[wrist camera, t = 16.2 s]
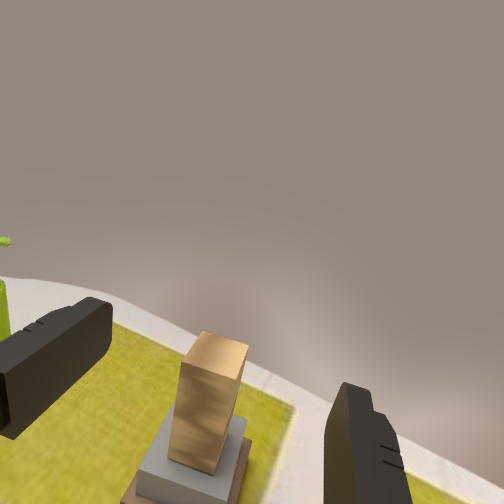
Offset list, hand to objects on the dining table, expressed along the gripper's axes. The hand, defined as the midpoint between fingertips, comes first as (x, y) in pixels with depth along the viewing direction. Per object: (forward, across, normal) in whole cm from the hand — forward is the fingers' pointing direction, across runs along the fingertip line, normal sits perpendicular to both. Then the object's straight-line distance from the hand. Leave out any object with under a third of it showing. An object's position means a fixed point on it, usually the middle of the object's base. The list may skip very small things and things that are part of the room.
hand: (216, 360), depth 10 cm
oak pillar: (+14, +3, +24) cm, 28 cm away
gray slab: (+14, +3, +28) cm, 32 cm away
